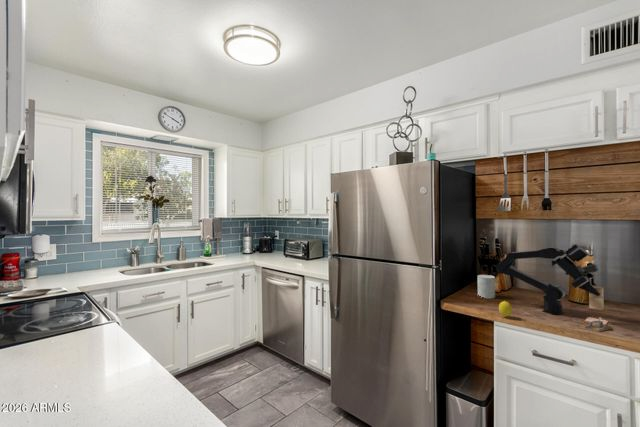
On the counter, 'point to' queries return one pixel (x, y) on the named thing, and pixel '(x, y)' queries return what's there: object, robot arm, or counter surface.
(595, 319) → the pad
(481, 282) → the white cylinder
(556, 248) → the robot arm
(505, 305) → the lemon
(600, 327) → the wire stand
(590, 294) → the oak block
